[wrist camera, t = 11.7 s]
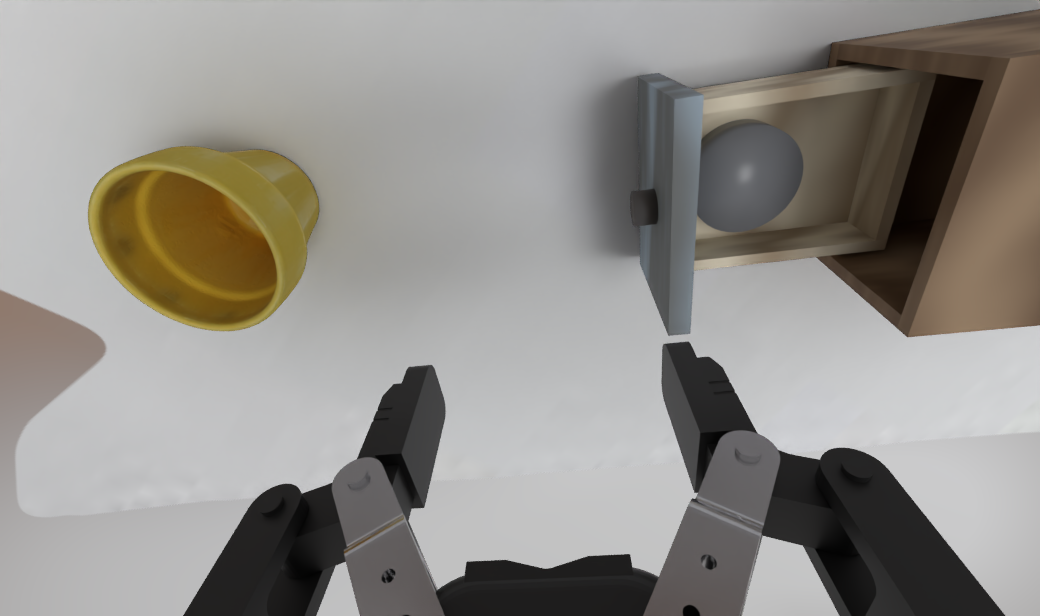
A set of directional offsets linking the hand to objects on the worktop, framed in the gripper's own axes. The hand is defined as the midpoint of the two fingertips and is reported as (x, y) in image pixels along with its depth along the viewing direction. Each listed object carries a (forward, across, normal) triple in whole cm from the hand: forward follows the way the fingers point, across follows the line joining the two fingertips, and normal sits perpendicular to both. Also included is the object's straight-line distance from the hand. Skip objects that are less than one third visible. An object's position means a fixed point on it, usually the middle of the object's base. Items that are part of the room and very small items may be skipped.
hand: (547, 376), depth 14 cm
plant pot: (+21, +19, -1) cm, 28 cm away
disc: (+18, -12, 0) cm, 22 cm away
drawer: (+19, -13, 0) cm, 23 cm away
